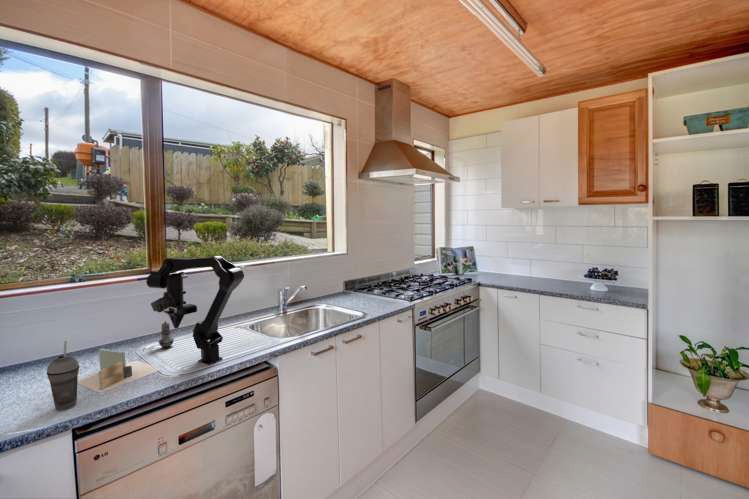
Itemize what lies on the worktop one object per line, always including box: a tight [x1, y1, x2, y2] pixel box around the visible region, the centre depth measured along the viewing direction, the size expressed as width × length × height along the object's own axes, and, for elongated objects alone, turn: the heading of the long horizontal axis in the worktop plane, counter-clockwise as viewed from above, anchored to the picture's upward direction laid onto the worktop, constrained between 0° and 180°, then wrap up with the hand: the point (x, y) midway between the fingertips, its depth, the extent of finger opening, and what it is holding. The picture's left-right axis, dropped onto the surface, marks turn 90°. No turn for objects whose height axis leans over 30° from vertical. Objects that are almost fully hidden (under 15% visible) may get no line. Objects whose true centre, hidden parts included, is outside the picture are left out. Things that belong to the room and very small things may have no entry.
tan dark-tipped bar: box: [98, 362, 132, 389], centre depth 120 cm, size 11×2×6 cm, turn 167°
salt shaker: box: [158, 320, 175, 351], centre depth 152 cm, size 6×6×12 cm
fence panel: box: [98, 348, 126, 375], centre depth 126 cm, size 11×1×8 cm, turn 73°
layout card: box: [77, 360, 159, 394], centre depth 126 cm, size 17×20×1 cm
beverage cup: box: [45, 340, 80, 412], centre depth 104 cm, size 7×7×20 cm
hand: (176, 328), depth 141 cm, fingers closed
